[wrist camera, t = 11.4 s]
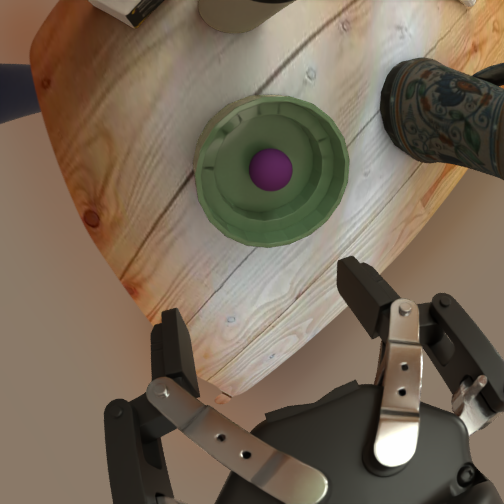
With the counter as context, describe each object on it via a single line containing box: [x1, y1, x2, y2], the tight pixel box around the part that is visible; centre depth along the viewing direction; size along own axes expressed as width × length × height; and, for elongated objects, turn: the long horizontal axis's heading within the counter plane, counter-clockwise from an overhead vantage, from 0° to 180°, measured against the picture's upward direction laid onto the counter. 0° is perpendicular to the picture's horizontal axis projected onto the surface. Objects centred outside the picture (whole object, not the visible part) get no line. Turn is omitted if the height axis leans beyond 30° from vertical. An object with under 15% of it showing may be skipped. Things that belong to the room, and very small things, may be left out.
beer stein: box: [380, 58, 504, 180], centre depth 23 cm, size 16×19×25 cm
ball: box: [249, 148, 293, 191], centre depth 32 cm, size 5×5×5 cm
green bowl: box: [193, 95, 349, 248], centre depth 32 cm, size 17×17×6 cm
